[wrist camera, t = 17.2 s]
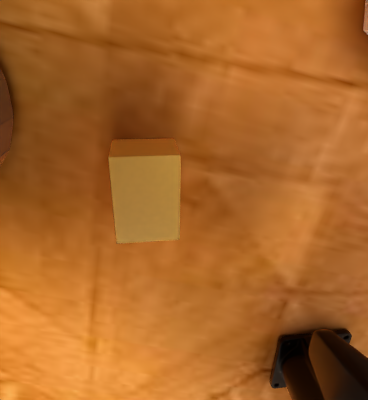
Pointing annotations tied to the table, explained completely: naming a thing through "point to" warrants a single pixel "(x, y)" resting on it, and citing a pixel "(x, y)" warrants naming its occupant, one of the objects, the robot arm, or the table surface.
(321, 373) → the robot arm
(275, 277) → the table surface
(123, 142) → the block
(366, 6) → the cup
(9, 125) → the bowl
